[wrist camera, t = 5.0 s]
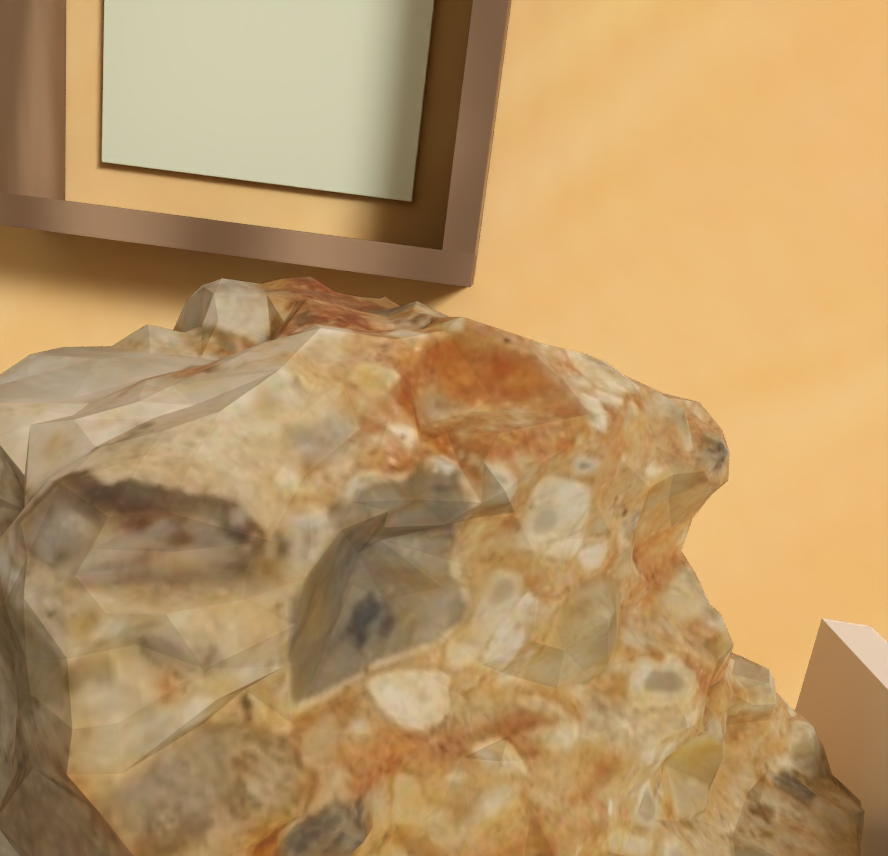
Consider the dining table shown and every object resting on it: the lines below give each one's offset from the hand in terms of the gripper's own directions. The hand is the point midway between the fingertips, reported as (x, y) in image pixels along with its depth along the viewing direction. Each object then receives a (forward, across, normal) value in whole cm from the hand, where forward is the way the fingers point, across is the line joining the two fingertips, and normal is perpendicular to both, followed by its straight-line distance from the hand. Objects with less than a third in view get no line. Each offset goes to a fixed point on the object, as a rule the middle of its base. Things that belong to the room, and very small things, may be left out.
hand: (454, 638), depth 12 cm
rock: (+2, 0, 0) cm, 2 cm away
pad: (+16, -9, +14) cm, 23 cm away
